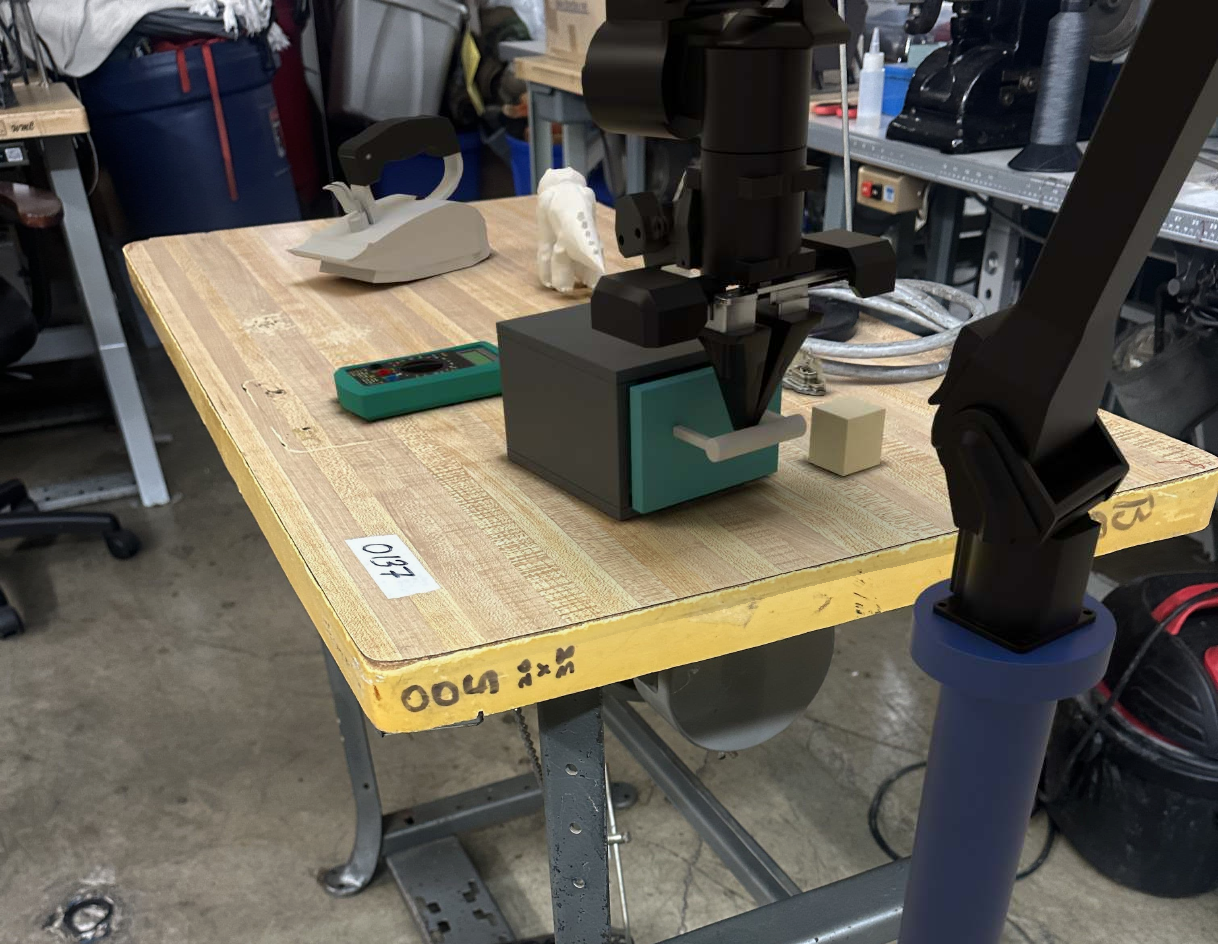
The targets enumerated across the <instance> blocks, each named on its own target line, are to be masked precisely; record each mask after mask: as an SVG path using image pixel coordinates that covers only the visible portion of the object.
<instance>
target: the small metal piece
mask: <svg viewBox="0 0 1218 944" xmlns="http://www.w3.org/2000/svg"><path fill="white" fill-rule="evenodd" d="M812 352H813V348H812V347H809V350H808V351H805V350H804V349H802V348H800V349H799V351H798V353H797V354H796V356H795V358H794V359H793V361H792V362H791V364H790V366H789V367H788V369H787V371H786V373H785V375H784V376H783V382H782V387H784V388H786V389H788V390H790V389H793V391H796V392H797V393H801V394H805V395H807V394H808V395H811V396H823V395H825V394H826V393H827V378H826V376H824V371H823V368H822V367H823V360H822V358H819V357H817V356H814V355H813V354H811V353H812Z"/></svg>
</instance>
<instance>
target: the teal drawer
mask: <svg viewBox="0 0 1218 944" xmlns="http://www.w3.org/2000/svg"><path fill="white" fill-rule="evenodd" d="M782 382H783V378H782V380H781V381H780V384H779V386H778V387H777V389H776V391H775V393H774V395H773V397H772V399H771V401H770V403H769V405H768V407H767V409H766V410H765V412H764V414H763V416H762V418H761V420H760V422H759V424H758V425H756V426H752V427H749V428H746V429H742V430H739V431H734V429H733V427H732V424H731V421H730V418H729V415H728V411H727V408H726V405H725V402H724V399H723V396H722V393H721V390H720V387H719V384H718V381H717V378H716V375H715V372H714V369H713V367H712V364H711V362H710V361H708V362H704V363H700V364H696V365H692V366H688V367H684V368H680V369H676V370H672V371H668V372H664V373H660V374H656V375H652V376H649V377H645V378H641V379H637V380H633V381H629V382H626V391H627V434H628V476H629V495H631V494H632V503H633V509H635V510H636V511H638V512H640V513H642V514H641V515H644V514H647V513H651V512H654V511H658V510H660V509H664V508H667V507H670V506H673V505H677V504H680V503H683V502H687V501H690V500H693V499H696V498H699V497H702V496H706V495H708V494H712V493H715V492H718V491H721V490H724V489H727V488H731V487H734V486H738V485H740V484H744V483H747V482H750V481H753V480H756V479H759V478H762V477H766V476H768V475H773V474H774V473H778V469H779V468H778V467H779V454H780V453H779V452H780V444H781V443H784V442H788V441H791V440H795V439H798V438H801V437H804V435H805V434H806V433H807V429H808V424H807V420H806V419H805V417H804V415H802V414H801V413H794V414H791V415H788V416H785V415H782V397H783V386H782Z"/></svg>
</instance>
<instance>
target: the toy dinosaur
mask: <svg viewBox="0 0 1218 944" xmlns="http://www.w3.org/2000/svg"><path fill="white" fill-rule="evenodd" d="M536 189H537V190H536V192H537V199H536V209H535V216H536V219H537V231H538V232H537V233H538V234H537V235H538V247H537V252H536V264H537V276H538V278H539V279H540V281H541V283H542V285H543V286H544V287H546V288H548V289H555V290H556V291H557V292H559V293H561V294H569V293H571V292H573V291H574V288H575V278H576V279H577V280H578V281H579V282H580V283H582V284H583V285H586V287H587V288H588V290H590V291H593V289H594V288H595V286H596V284H597V283H598V281H599V279H600V277H601V276H604V275H607V274H606V270H605V269H606V268H605V266H606V261H605V255H604V252H605V248H604V242H603V241H602V240H601V238H600V236H601V235H600V233H599V231H598V229H597V212H598V211H597V210H598V209H597V200H596V193H595V192H594V190H593V189H592V188H591V187H588V186H587V181H586V178H585V176H583V174H582V173H580V172H579V171H578V170H575V169H573V168H572V167H571V166H568V167H565V168H557V169H553V168H552V167H551V168H547V169H546V170H545V172H544V175H543V176H541V178H540V180H539V182H538V186H537V188H536Z"/></svg>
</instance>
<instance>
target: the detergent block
mask: <svg viewBox="0 0 1218 944" xmlns="http://www.w3.org/2000/svg"><path fill="white" fill-rule="evenodd" d="M886 411H887V408H886V407H884V406H881V405H878V404H875V403H872V402H869V401H868V400H867V401H866V400H864V399H861V398H858V397H855V396H852V395H846V396H843V397H840V398H836V399H833V400H829V401H825V402H822V403H818V404H815V405H812V407H811V420H810V432H809V448H808V461H807V462H809V463H811V464H813V465H815V466H816V467H817V466H818V467H820V468H822V469H824V470H827V471H830V472H832V473H833V474H837V475H839V476H842V477H845V476H847V475H851V474H854V473H857V472H860V471H864V470H867V469H869V468H873V467H875V466H879V465H880V464H881V456H882V448H883V447H882V446H883V438H884V430H885V429H884V428H885V423H886V422H885V421H886V420H885V419H886Z"/></svg>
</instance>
